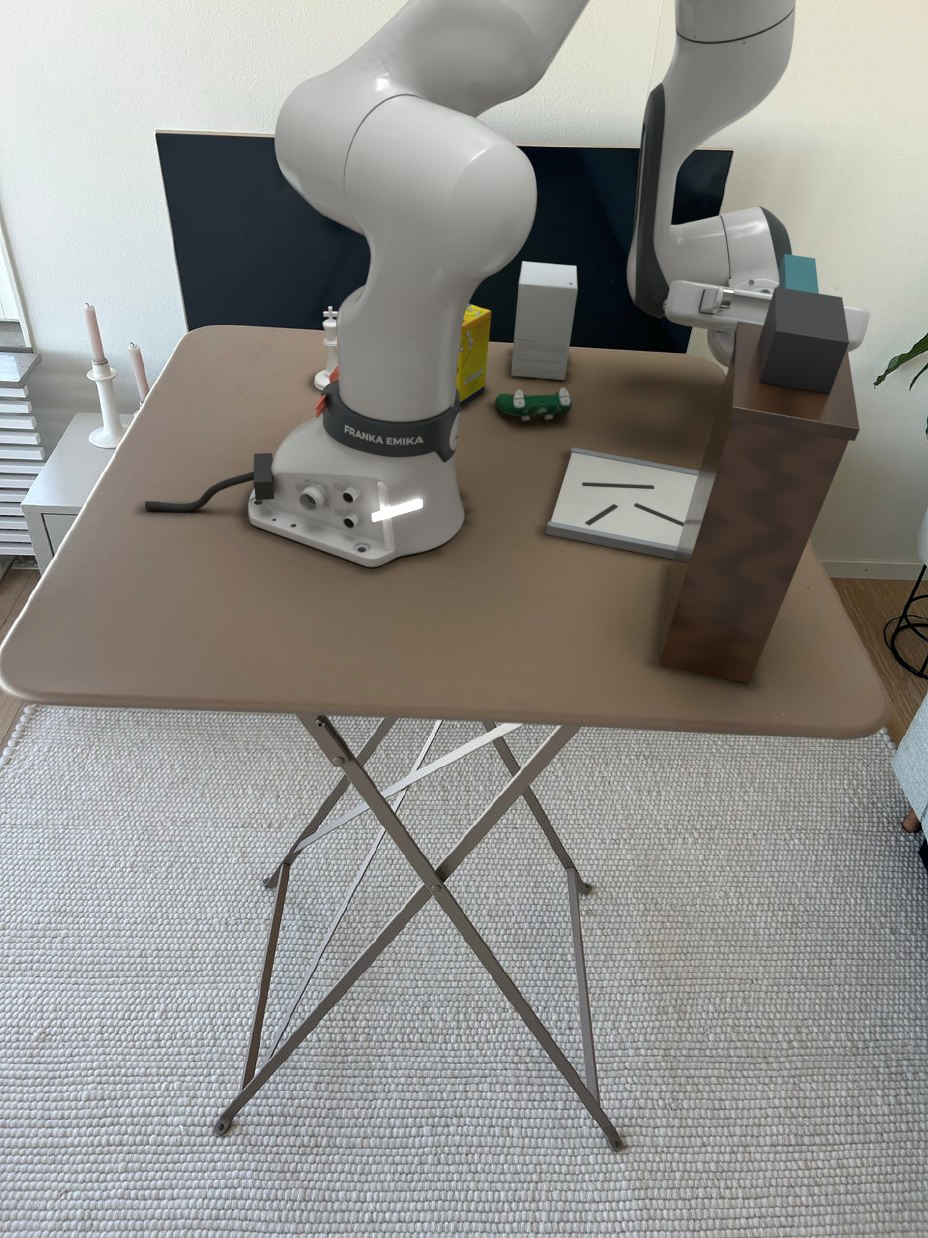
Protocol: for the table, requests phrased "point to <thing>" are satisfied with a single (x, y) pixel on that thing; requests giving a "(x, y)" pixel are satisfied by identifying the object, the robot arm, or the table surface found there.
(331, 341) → the chess piece
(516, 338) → the white packaging box
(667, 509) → the whiteboard
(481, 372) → the supplement box
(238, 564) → the table surface
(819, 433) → the walnut pedestal
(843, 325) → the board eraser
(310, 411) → the table surface
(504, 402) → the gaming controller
